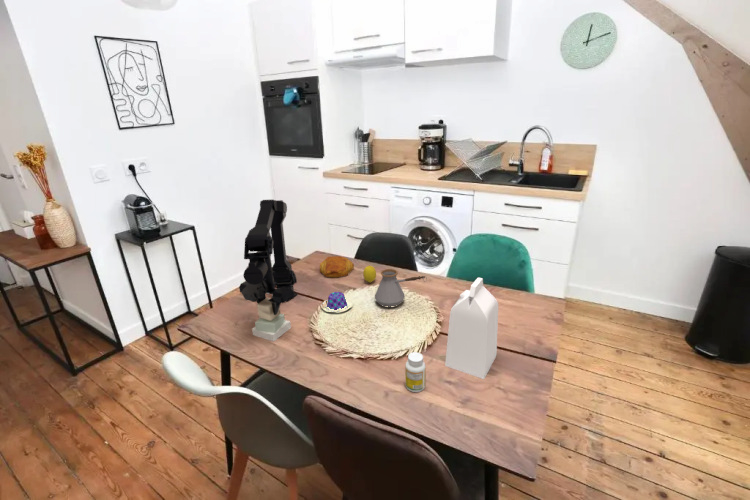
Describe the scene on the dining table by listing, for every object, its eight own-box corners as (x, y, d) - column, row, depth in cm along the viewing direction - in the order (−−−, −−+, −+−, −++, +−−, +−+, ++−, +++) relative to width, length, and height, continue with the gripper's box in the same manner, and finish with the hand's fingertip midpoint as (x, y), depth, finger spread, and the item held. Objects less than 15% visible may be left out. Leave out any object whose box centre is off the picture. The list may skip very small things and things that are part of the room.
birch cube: (269, 310, 132) (267, 297, 130) (280, 313, 130) (278, 300, 128) (259, 317, 128) (256, 304, 126) (270, 320, 126) (268, 307, 124)
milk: (484, 379, 106) (491, 296, 96) (445, 365, 112) (448, 286, 102) (496, 355, 115) (504, 277, 106) (459, 344, 121) (464, 269, 112)
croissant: (324, 269, 184) (321, 254, 181) (356, 266, 181) (353, 250, 179) (316, 282, 170) (312, 265, 168) (350, 278, 168) (347, 262, 165)
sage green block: (267, 319, 134) (265, 311, 133) (285, 321, 132) (284, 314, 131) (256, 330, 128) (254, 322, 127) (275, 332, 126) (273, 325, 125)
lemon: (378, 280, 166) (377, 263, 163) (373, 286, 161) (373, 268, 158) (366, 279, 168) (365, 262, 165) (361, 284, 163) (360, 267, 160)
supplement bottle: (417, 395, 101) (418, 366, 97) (401, 387, 104) (401, 357, 101) (428, 384, 105) (429, 355, 101) (412, 376, 108) (413, 348, 104)
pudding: (314, 308, 146) (313, 296, 144) (337, 296, 154) (336, 284, 152) (337, 318, 138) (336, 305, 137) (359, 305, 147) (358, 293, 145)
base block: (271, 323, 137) (269, 315, 136) (291, 328, 134) (290, 321, 132) (253, 336, 130) (252, 328, 129) (274, 342, 126) (272, 335, 125)
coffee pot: (368, 304, 146) (367, 269, 141) (385, 292, 155) (385, 258, 150) (417, 321, 135) (418, 283, 129) (433, 307, 143) (434, 270, 138)
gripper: (222, 275, 120) (231, 318, 126) (268, 286, 112) (274, 331, 118) (248, 262, 129) (255, 302, 135) (292, 271, 121) (297, 314, 127)
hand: (269, 312), depth 129 cm, fingers closed on birch cube, 5 cm apart
